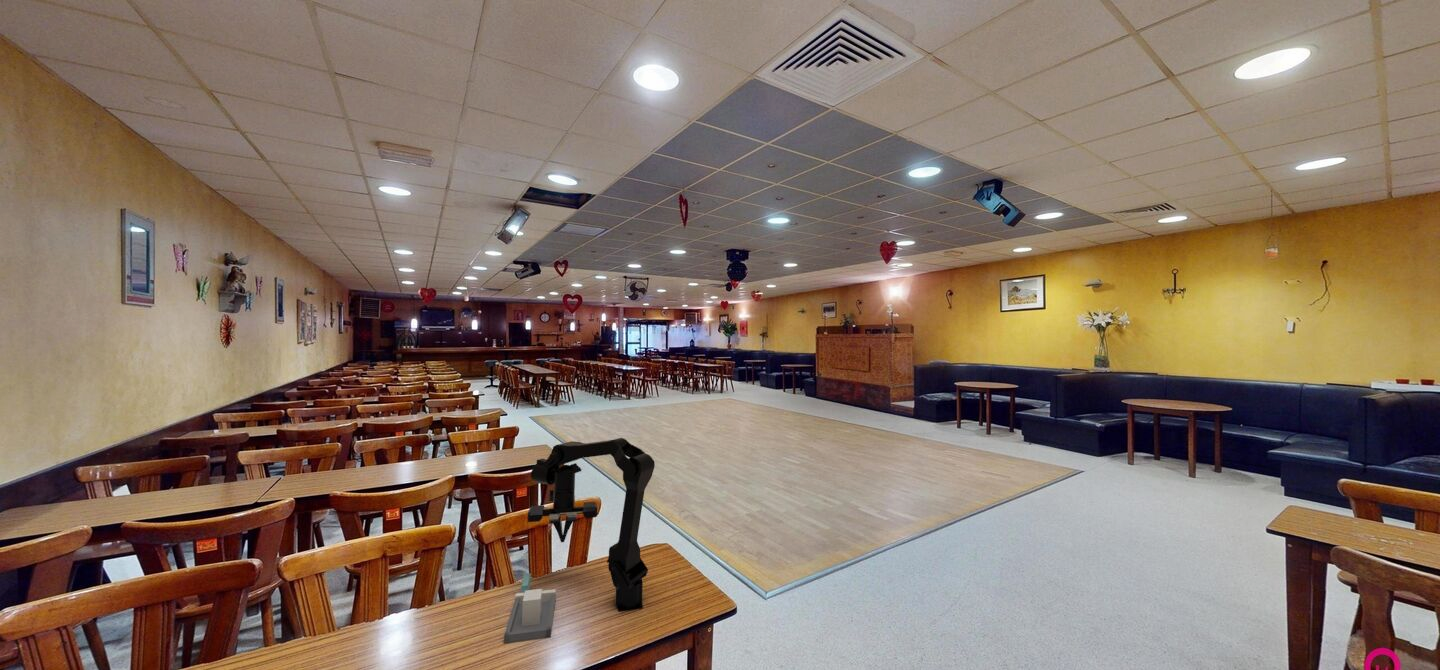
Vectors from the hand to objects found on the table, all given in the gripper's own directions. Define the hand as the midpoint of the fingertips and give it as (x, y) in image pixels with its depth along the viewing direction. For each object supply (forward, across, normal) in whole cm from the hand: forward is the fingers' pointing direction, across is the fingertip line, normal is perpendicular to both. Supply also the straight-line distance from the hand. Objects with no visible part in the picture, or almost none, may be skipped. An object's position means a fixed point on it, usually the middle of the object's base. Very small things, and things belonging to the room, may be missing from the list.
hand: (562, 541), depth 134 cm
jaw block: (+12, +6, +17) cm, 22 cm away
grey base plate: (+12, +6, +17) cm, 22 cm away
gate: (+12, +6, +5) cm, 14 cm away
